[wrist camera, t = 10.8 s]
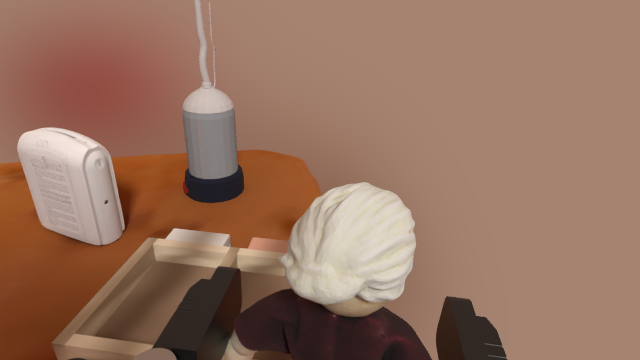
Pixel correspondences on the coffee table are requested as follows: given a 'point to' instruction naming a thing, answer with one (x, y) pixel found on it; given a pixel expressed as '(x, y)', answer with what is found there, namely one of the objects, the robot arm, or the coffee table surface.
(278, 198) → the coffee table surface
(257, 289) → the wooden divided tray
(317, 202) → the grandmother figurine
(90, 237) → the photo printer
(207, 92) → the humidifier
